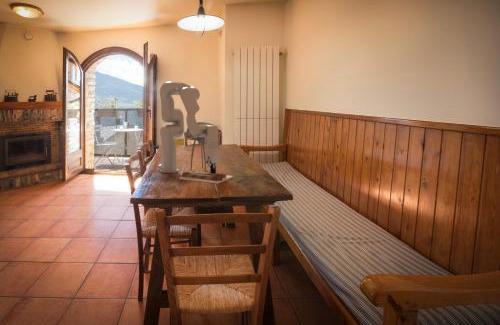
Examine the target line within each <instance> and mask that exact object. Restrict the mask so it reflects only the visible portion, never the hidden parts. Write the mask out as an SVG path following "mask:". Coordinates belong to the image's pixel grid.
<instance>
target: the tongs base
mask: <svg viewBox="0 0 500 325" xmlns="http://www.w3.org/2000/svg"><path fill="white" fill-rule="evenodd" d="M181 174H182V176H181V177H188V178H197V179H205V180H214V181H222V177H221V176H212V175H203V174H194V173H192V172H190V171H184V172H182V173H181Z"/></svg>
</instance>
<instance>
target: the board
mask: <svg viewBox="0 0 500 325" xmlns="http://www.w3.org/2000/svg"><path fill="white" fill-rule="evenodd" d="M199 172H200V171H199ZM200 173H202V172H200ZM178 179H179V180H185V181H192V182H200V183H210V184H220V183H223V182H226V181H228V180H230V179H234V175H228V174H226V178H222V181H214V180H205V179H197V178H188V177H182V176H179V178H178Z"/></svg>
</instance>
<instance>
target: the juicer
mask: <svg viewBox="0 0 500 325" xmlns="http://www.w3.org/2000/svg"><path fill="white" fill-rule="evenodd" d="M196 142H197V143H198V146H200V153H201V154H200V156H201V169H203V168H204V171H205V172H206V171H207V163H206V161H205V159H206V148H205V145H204V144H205V143H204V137H194V140H193V144H192V149H191V156H190V157H191V158H190V171H192V169H193V159H194V152H195V151H194V150H195V145H196Z"/></svg>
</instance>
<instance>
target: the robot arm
mask: <svg viewBox="0 0 500 325" xmlns="http://www.w3.org/2000/svg"><path fill="white" fill-rule="evenodd" d="M173 96H179V97H180V100H181V102H182V105H183V106H184V108H185V111H186V117H185V118H186V126H187V128H188V131H189V133H190V134H191V136H192V137H194V138H197V137H202V138H205V140H206V145H205V146H206V148H205V161H206V164H207V166H208V167H209V173H217V164H219V161H220V152H219V151H220V150H219V127H218V125H215V124H210V125H209V124H198V122H197V119H196V114H197V113H198V112H199V111H200V106H199V103H198V100H199V99H200V96H201V94H200V91H199V89H198V88H196V87H194V86H192V85H190V84H187V83H186V82H181V81H166V82H164V83H162V84H161V86H160V88H159V97H160V109H161V113H160V114H161V120H162V121H163V122H164V123H169V124H165V125H163V126H161V127H160V129H159V137H160V140H161V141H160V142H161V164H158V166H157V168H159V172H160V173H163V174H172V173H173V174H174V173H178V172H179V171H180V169H179V168H177V166H178V165H177V144H176V141H175V139H179V138H182V137H183V136H184V132H185V120H184V113H183V111H182V109H180V108H176V107H175V101H174V98H173ZM171 123H172V124H171Z"/></svg>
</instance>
